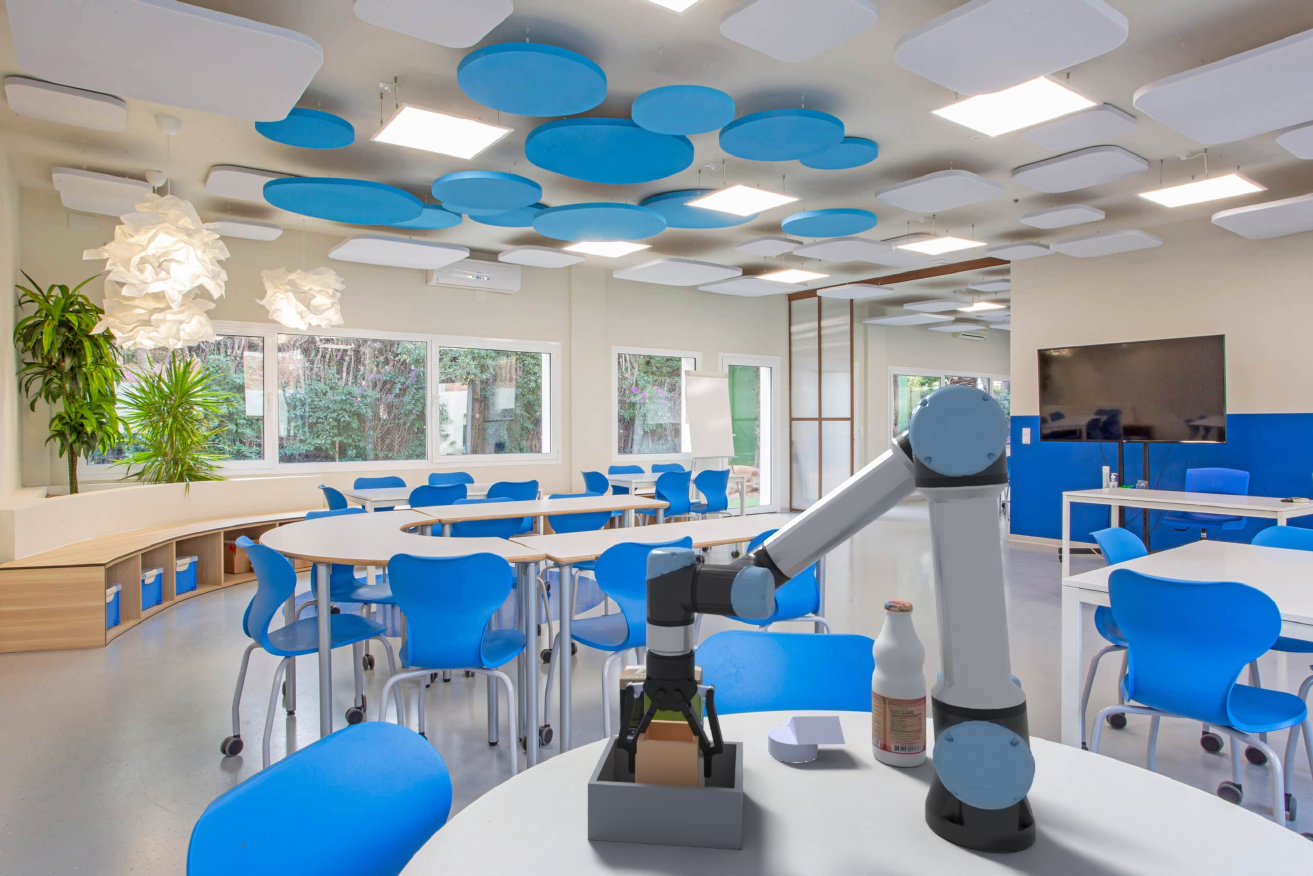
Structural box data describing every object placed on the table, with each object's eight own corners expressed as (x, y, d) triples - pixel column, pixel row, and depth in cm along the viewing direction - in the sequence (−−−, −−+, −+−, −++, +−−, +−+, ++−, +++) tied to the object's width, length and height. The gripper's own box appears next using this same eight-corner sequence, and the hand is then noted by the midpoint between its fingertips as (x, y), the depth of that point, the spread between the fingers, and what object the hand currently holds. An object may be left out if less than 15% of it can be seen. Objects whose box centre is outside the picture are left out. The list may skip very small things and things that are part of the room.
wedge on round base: (832, 743, 144) (764, 743, 143) (832, 707, 144) (764, 708, 143) (845, 763, 135) (773, 763, 134) (845, 725, 135) (772, 726, 134)
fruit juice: (861, 755, 138) (860, 602, 138) (893, 743, 143) (892, 596, 144) (905, 773, 130) (904, 611, 130) (937, 760, 136) (936, 604, 136)
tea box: (704, 741, 144) (704, 664, 145) (702, 763, 134) (702, 680, 135) (626, 738, 146) (626, 661, 146) (618, 759, 136) (618, 677, 136)
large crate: (742, 791, 123) (742, 742, 123) (741, 849, 106) (741, 792, 106) (610, 783, 126) (610, 735, 126) (587, 839, 108) (587, 783, 108)
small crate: (701, 785, 120) (701, 722, 120) (697, 812, 111) (697, 744, 111) (645, 782, 121) (645, 719, 121) (636, 809, 112) (636, 741, 112)
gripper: (741, 645, 118) (741, 788, 118) (605, 640, 121) (605, 780, 121) (741, 658, 111) (740, 811, 111) (596, 653, 114) (595, 802, 114)
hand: (670, 795), depth 116 cm, fingers closed on small crate, 9 cm apart
